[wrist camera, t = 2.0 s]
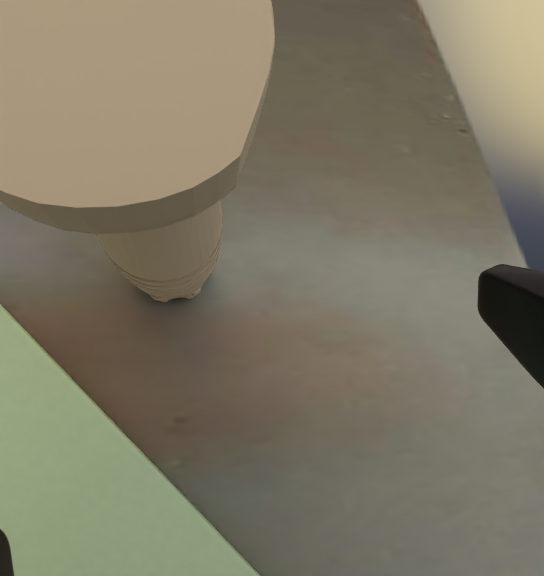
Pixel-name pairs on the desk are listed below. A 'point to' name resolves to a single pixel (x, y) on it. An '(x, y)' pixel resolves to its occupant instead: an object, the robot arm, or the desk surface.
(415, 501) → the desk surface
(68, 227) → the handle
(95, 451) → the mat
